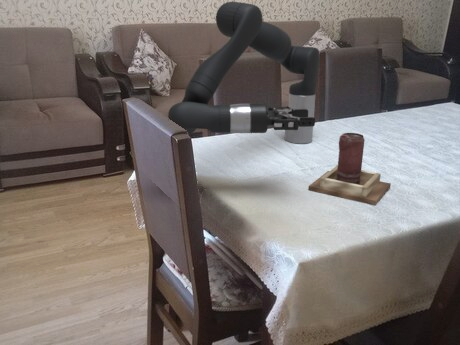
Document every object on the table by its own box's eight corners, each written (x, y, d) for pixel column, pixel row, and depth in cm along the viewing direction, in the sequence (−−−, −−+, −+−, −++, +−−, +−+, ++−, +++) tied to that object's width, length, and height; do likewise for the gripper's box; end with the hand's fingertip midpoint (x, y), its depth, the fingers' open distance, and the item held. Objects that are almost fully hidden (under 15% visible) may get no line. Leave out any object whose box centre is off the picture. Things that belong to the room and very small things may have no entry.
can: (332, 181, 125) (336, 132, 120) (354, 180, 125) (360, 131, 120) (339, 189, 119) (343, 138, 114) (362, 189, 120) (368, 138, 115)
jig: (308, 190, 122) (309, 177, 121) (327, 174, 133) (328, 162, 132) (375, 205, 113) (377, 191, 112) (390, 187, 124) (391, 174, 123)
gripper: (250, 110, 107) (318, 109, 108) (246, 98, 121) (306, 97, 121) (250, 140, 110) (316, 139, 111) (245, 125, 123) (305, 124, 124)
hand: (311, 117), depth 116 cm, fingers open, 8 cm apart
